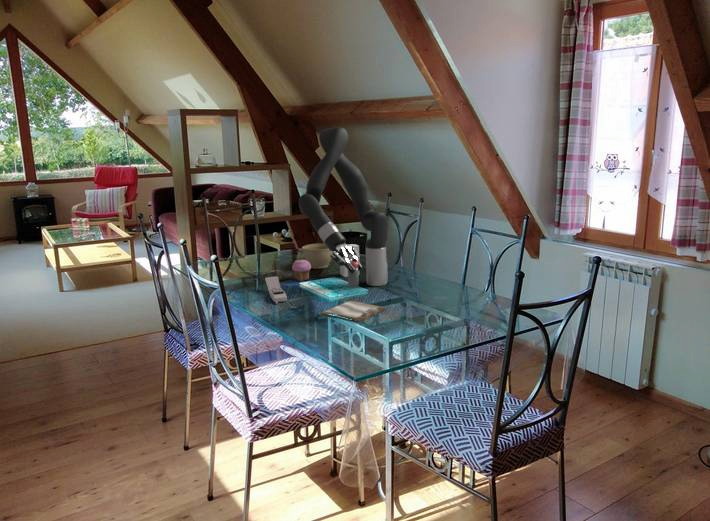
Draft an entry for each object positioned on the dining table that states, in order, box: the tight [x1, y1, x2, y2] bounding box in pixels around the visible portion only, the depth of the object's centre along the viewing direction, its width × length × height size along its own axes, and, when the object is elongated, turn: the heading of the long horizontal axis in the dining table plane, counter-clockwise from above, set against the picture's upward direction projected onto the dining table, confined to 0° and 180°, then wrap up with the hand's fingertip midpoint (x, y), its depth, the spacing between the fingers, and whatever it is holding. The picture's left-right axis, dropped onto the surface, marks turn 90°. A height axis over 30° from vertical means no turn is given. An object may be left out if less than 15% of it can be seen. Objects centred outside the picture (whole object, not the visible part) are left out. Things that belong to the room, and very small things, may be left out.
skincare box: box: [339, 243, 360, 278], centre depth 285 cm, size 8×6×15 cm
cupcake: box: [291, 259, 312, 282], centre depth 279 cm, size 9×9×10 cm
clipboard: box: [321, 300, 387, 323], centre depth 231 cm, size 18×18×2 cm
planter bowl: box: [301, 243, 333, 270], centre depth 304 cm, size 16×16×11 cm
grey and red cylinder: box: [347, 261, 360, 287], centre depth 228 cm, size 4×4×9 cm
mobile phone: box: [264, 276, 288, 305], centre depth 255 cm, size 6×6×25 cm
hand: (357, 270), depth 226 cm, fingers closed on grey and red cylinder, 4 cm apart
